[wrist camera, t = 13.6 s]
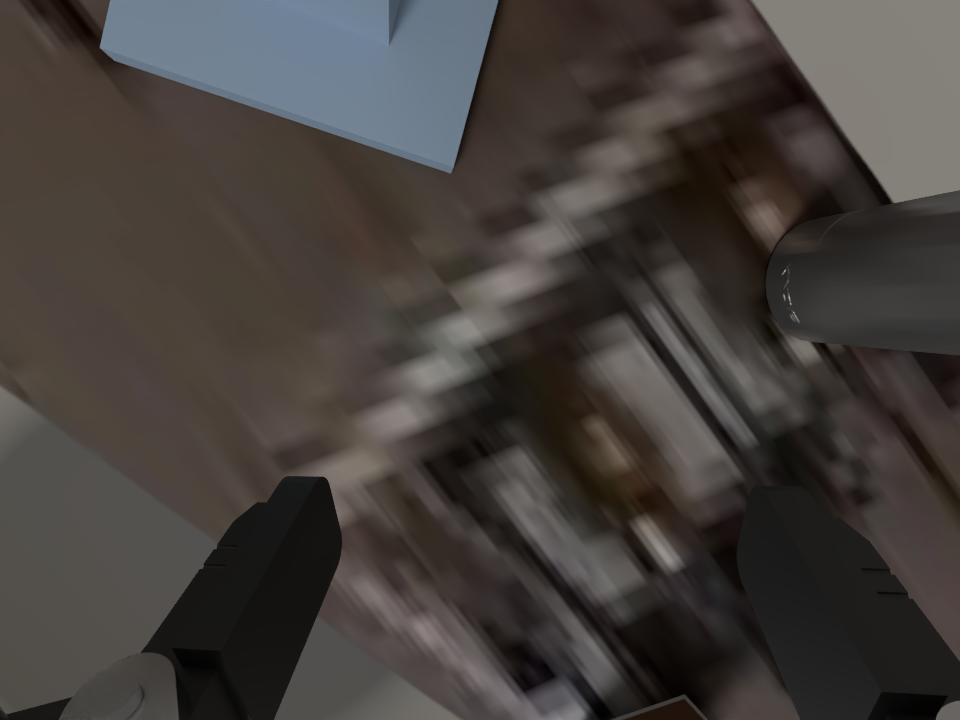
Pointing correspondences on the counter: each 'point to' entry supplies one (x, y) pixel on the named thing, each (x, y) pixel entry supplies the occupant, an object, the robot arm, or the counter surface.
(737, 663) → the counter surface
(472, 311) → the counter surface
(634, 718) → the food container
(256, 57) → the jack stand base
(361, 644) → the counter surface
